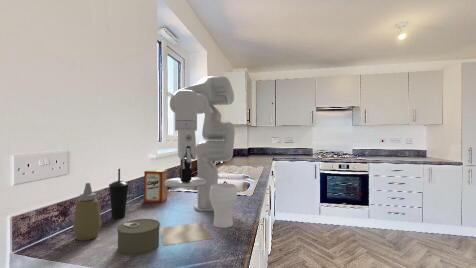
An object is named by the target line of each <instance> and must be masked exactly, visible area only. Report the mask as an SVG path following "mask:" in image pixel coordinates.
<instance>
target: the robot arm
mask: <svg viewBox="0 0 476 268" xmlns="http://www.w3.org/2000/svg"><path fill="white" fill-rule="evenodd" d="M234 93H235V92H234V89H233V86H232V84H231V82H230V80H229V78H228V77H226V76H224V75H223V76H217V75H216V76H204V77H203V78H201V79H200V80H199V81H198V82H197V83H195V84H193V85H189V86H186V87H182V88H180V89H178V90H176V91H175V92H174V93H173V94H172V95H171V97H170V99H169V108H170V110H171V111H172V112H173V113H174V131H175V132H176V131H177V157H178V158H179V159H180V162H179V163H180V165H179V178H180V179H181V166H183V169H182V181H188V180H191V177H192V171H193V169H192V160H196V162H197V178H202V179H205V180H206V184H205V185H202V186H198V187H196V188H197V189H196V190H197V194H196V195H197V197H196V198H197V201H196V202H197V203H196V204H194V205H193V209H194V210H195V211H198V212H214V209H213V207H212V205H211V202H210V189H211V185H213V184H219V171H218V168H217V165H216V164H215V163H214V162H229V161H231V160H232V158H233V156H234V146H235V133H236V132H235V126H234V124H233V123H232V122H231V121H222V114H221V112H220V111H219V109H218V108H217V107H215V106H217V105H218V106H226V105H227V106H229V105H231V104H233V103H234V100H235V94H234ZM201 114H204V119H203V125H202V130H201V131H202V132H201V134H202V135H201V136H202V138H203V139H204V140H202V141H199V142H198V143H197V142H196V141H197V140H196V131H198V115H201Z"/></svg>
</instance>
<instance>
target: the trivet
mask: <svg viewBox="0 0 476 268" xmlns="http://www.w3.org/2000/svg"><path fill="white" fill-rule="evenodd" d="M159 233H160V235H161V240H162V244H163V247H165V246H172V245H173V246H174V245H179V244H185V243H193V242H200V241H201V242H202V241H207V240H213V239H215V237H214V236H213V234H212V233H211V232H210V230H209V229H208V228H207V226H206V225H205V224H204V222H198V223H197V222H195V223H190V224H180V225H179V224H178V225H173V226H172V225H170V226H162V227H161V226H160V227H159Z"/></svg>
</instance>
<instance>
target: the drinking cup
mask: <svg viewBox="0 0 476 268" xmlns="http://www.w3.org/2000/svg"><path fill="white" fill-rule="evenodd" d="M117 171H118V173H117V180H116V181H112V182H111V183H108V186H109V195H110V196H109V197H110V208H111V218H112V219H123V218H124V217H125V216H126V209H127V198H128V189H129V186H130V183H129V182H127V181H124V180H121V168H118V170H117Z"/></svg>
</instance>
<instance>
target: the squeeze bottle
mask: <svg viewBox="0 0 476 268" xmlns="http://www.w3.org/2000/svg"><path fill="white" fill-rule="evenodd" d="M101 226H102V220H101V210H100V201H99V200H98V199H97V193H96V192H93V190H92V185H91V182H86V183H85V185H84V189H83V193H80V194H79V200H78V201H77V202H76V203H75V210H74V218H73V226H72V229H73V232H74V235H75V238H76V239H77V241H82V242H83V241H89V240H92V239H95V238H97V236H98V235H99V232H100V230H101Z"/></svg>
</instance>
